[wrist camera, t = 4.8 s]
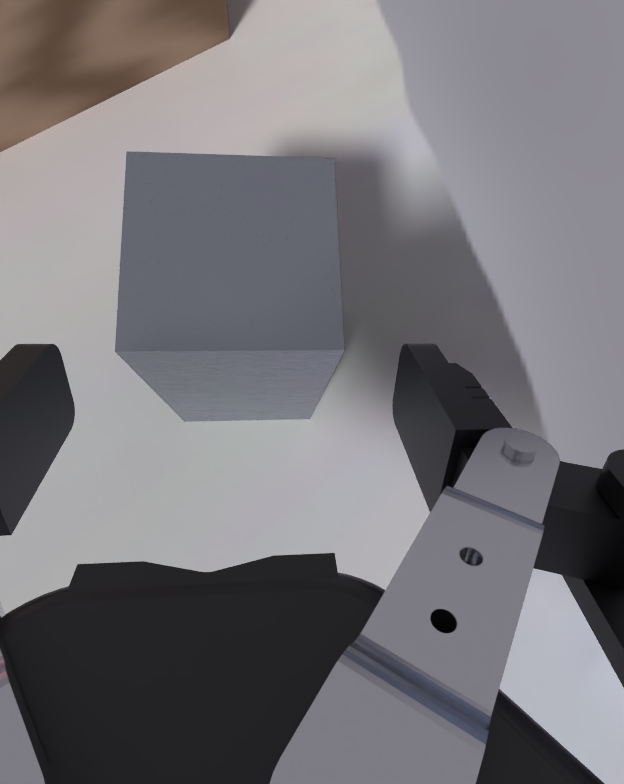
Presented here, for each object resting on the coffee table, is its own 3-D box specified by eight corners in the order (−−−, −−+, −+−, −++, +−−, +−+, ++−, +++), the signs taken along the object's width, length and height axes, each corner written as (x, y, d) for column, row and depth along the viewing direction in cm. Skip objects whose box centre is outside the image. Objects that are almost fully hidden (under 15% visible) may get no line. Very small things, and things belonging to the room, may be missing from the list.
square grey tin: (309, 418, 20) (344, 349, 11) (184, 421, 19) (115, 351, 10) (305, 304, 21) (334, 158, 12) (187, 304, 20) (126, 151, 11)
